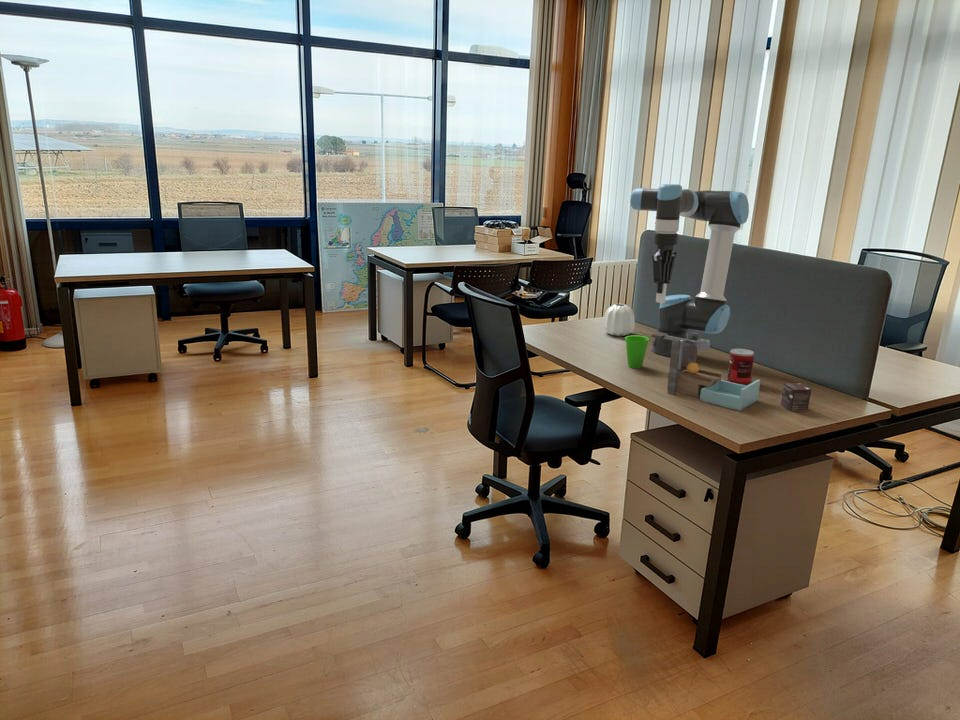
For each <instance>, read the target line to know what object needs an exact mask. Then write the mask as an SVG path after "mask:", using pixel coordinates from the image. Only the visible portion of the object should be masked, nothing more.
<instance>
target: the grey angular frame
mask: <svg viewBox="0 0 960 720" xmlns="http://www.w3.org/2000/svg"><path fill="white" fill-rule="evenodd" d="M691 336H694V337H695V339H694V341H698V340H699V339H700V337H699V336H700V333H699V332H695V331H691V332H690V336H689V337H691ZM680 342H681V341H680V340H675V339H673V340H672V348H671V356H670V358H669V359H670V360H669V362H670V363H669V370H668V371H669V372H668V374H667V375H668V377H667V394H670V395H676V394H677V393H680V394H684V395H689V396H692V397H696V398H698V397H700V394H701V389H702V388H704V387H706V386H709V387H711V386H713V385H715V384H717V383H718V382H720V381H721V380H722V375H723V374H722V373H719V372H718V373H717V372H715V371H709V370H705V369H700V368H699V370H698V372H697V373H696V374H689V373H688V372H687V370H684V371H682V372H679V371H678V364H679V353H680ZM697 355H698V349H697V345H693V344H690V348H689V358H688V364H689V363H696V364H697V357H698V356H697Z"/></svg>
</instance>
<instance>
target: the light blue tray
mask: <svg viewBox="0 0 960 720" xmlns="http://www.w3.org/2000/svg"><path fill="white" fill-rule="evenodd" d="M760 386H761V379H756V380H754V381H752V382H750V383H748V384H737V383H732V382H730V381H727V380H723V379H721V381H720V382H718V383H717V384H715V385H713V386H711V387H709V386H706V387H704V388H702V389H701V394H700V396H699V401H700V402H703V403H708V404H713V405H714V406H720V407H724V408H727V409H732V410H735V411H739V412H741V411H743V410H745V409H746V408H748V407H749V406H751V405H753V404H754V403H756V402H758V401H759V395H760V393H759V392H760Z"/></svg>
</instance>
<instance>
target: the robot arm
mask: <svg viewBox="0 0 960 720" xmlns="http://www.w3.org/2000/svg"><path fill="white" fill-rule="evenodd" d="M629 199H630V200H629V201H630V202H629V203H630V207H631V208H632V209H633V210H637V211H649V212H650V211H651V212H656V215H655V222H654V225H655V227H654V230H655V233H654V236H653V237H654V238H653V243H654V244H655V245H657V247H656V250H655V251H656V253H655V254H652V255H651V260H652V269H653V283H654V284H656V294H655V295H656V296H655V303H658V304H659V307H658V308H659V311H658V312H659V313H658V324H657V333H658V332H661V333H667V334H668V336H673V337H679V338H684V339H686V338H688V337H689V336H688V331H689V330H691V331H693V332H695V331H696V332H700V333H701V332H702V333H705V334H713V335H716V334H719V333H721V332H723V330H724V329H725V328H726V326H727V324H728V322H729V320H730V316H731V307H730V306H729V305H728V304H727V299H726V297H725V296H724V294H725V287H726V282H727V277H728V272H729V266H730V262H731V255H732V251H733V244H734V239H735V234H736V233H737V232H738V231H739V230H741V225H743V224H746V223H747V221H748V219H749V213H750V205H749V199H748V197H747V195H746V194H745V193H744V192H741V191H733V190H698V191H695V190H692V189H688V188H684V189H683V186H682V185H681V184H674V183H672V184H671V183H664V184H663V183H661V184H660V185H659V186H658V188H647V187H646V188H644V187H642V188H641V187H637V188H634V189H633V190H632V192H631V195H630V198H629ZM680 217H682V218H689V219H693V220H697V221H701V222H702V221H703V222H708V224H707V226H708V227H709V229H710V230H711V232H710V238H709V241H708V242H709V243H708V247H707V251H706V252H707V254H706V258H705V264H704V271H703V276H702V282H701V287H700V291H699V293H698V294H696V295H695V297H694V300H693V299H692V296H691V295H689V294H673V295H672V294H671V295H667V285H668V284H671V280H672V275H673V271H674V265H675V260H676V257H677V251H674V246H676V245H677V244H678V239H679V234H678V232H679V228H680ZM671 348H672V340H668V339H663V338H662V339H660V338H655V337H654V339H653V343H652V346H651V351H652V352H653V353H655V354H657V355H660V356H661V355H662V356H667V357H671Z"/></svg>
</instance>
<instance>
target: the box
mask: <svg viewBox="0 0 960 720" xmlns="http://www.w3.org/2000/svg"><path fill="white" fill-rule="evenodd" d="M811 392H812V389H811V388H810V387H809V386H807V385H805V384H803V383H802V382H799V383H798V382H795V383H794V382H793V383H792V382H791V383H790V382H789V383H783V389H782V394H781V395H782V396H781V402H780V405H781V406H782V407H784V408H785V409H787V410H788V411H790V412H803V411H804V412H806V411H809V406H810V399H811V394H812V393H811Z"/></svg>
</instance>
